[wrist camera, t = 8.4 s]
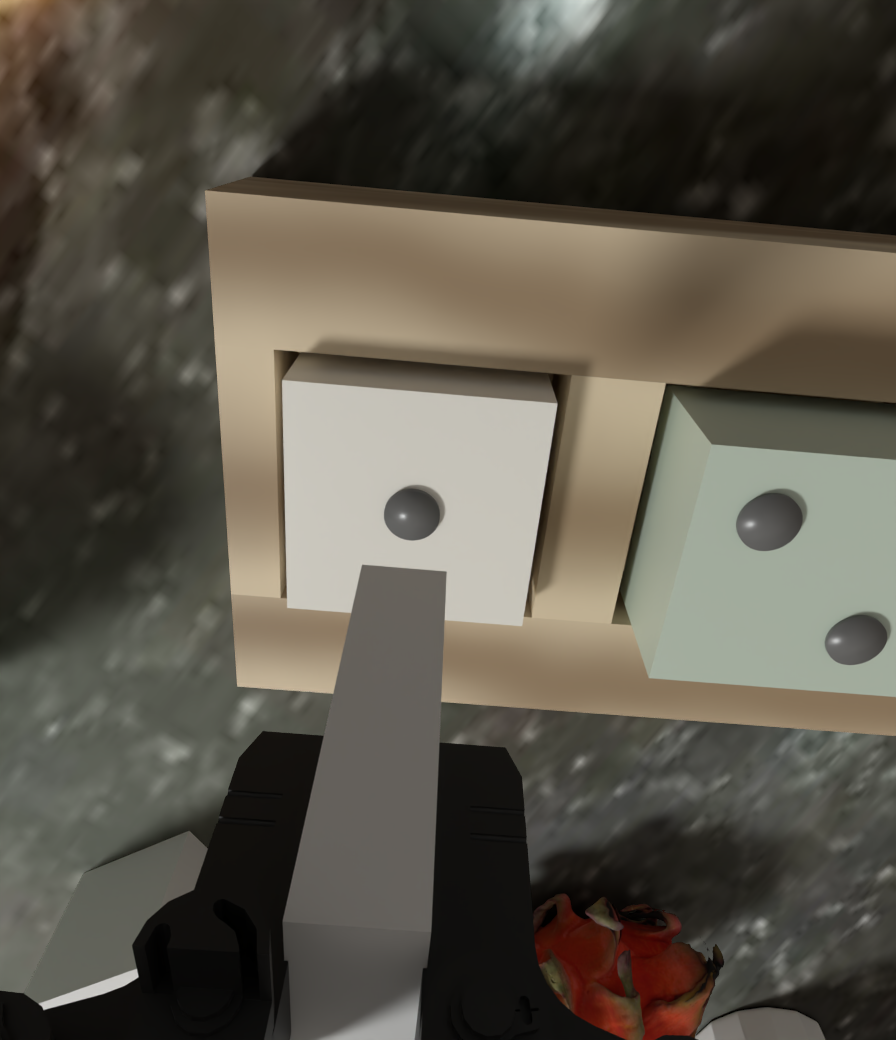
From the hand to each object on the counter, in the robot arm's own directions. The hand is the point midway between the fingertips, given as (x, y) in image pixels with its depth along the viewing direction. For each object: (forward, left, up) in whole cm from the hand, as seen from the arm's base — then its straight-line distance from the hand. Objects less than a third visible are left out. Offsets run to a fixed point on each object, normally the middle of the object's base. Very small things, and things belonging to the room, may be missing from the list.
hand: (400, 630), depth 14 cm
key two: (+1, +9, -8) cm, 12 cm away
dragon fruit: (+24, +8, -11) cm, 27 cm away
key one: (+1, 0, -10) cm, 10 cm away
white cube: (+24, -10, -11) cm, 28 cm away
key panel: (+1, +9, -11) cm, 14 cm away
